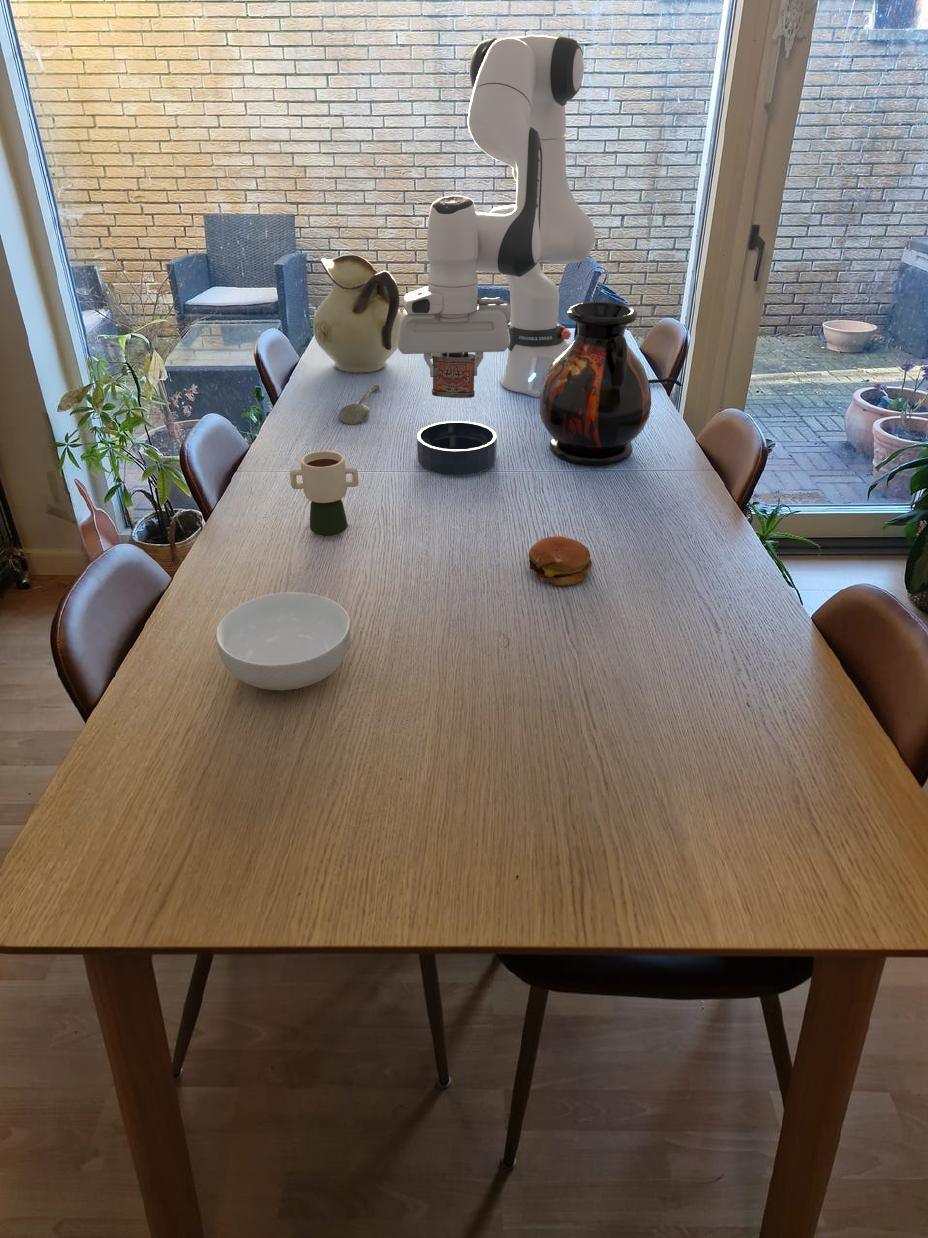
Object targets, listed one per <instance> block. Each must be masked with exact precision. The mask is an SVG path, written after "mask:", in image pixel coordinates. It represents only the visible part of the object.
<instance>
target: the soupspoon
mask: <svg viewBox="0 0 928 1238" xmlns="http://www.w3.org/2000/svg"><path fill="white" fill-rule="evenodd" d="M380 388H381V387H380V385H379V384H377V383H375V384H373V385H372V387H371V388H370V389H369V390H368V391H367V392H366V393H365V394H364V395H363V396H362V397H361V399H360V400H359V401H358V402H354V403H353V402H352V403H350V404H347V405H345V406H343V407H341V409H340V410H339V412H338V418H339V420H340V421H341V422H342V423H345V424H347V425H356V424H361V423H362V422H364V421H365V420H366V419H368V417H369V414H370V408H369V406H367V405H366V404H363V403H364V401H365V400H366V399H367V398H368V396H370V394H371V393H372V392H378V391H380Z"/></svg>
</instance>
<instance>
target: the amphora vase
mask: <svg viewBox="0 0 928 1238" xmlns="http://www.w3.org/2000/svg"><path fill="white" fill-rule="evenodd" d="M566 313H567V314H566V315H567V317H568V318H569V319H570V320H571V321H572V322H575V327H574V334H573V340H572V341H571V343H569V344H570V345H569V346H568V347H567V348H566V349H565V350H564V351H563V352H562V353H561V354H560V355H559V356H558V357H557V358H556V359H555V361H554V362H553V363H552V365H551V366H550V368H549V370H548V372H547V373H546V376H545V378H544V381H543V383H542V388H541V392H540V397H539V416H540V420H541V422H542V425H543V426H544V427H545V429H546V431H547V432H548V434H549V435H550V436H551V437H552V438H551V440H550V441H549V451H550V452H551V453H552V455H553V456H554V457H556V458H557V459H558V460H560V461H563V462H565V463H567V464H569V465H574V466H578V467H586V468H602V467H603V468H607V467H610V466H616V465H618V464H620V463H624V462H625V461H626V460H628V459H629V458H630V457H631V455H632V453H633V450H634V448H633V444H632V441H634V440H635V439H636V438H637V437H638V436H639V435H640V434H641V433H642V431H643V430H644V428H645V426H646V424H647V423H648V420H649V418H650V415H651V408H652V391H651V387H650V383H649V381H648V380H649V377H648V375H647V372H646V369H645V367H644V365H643V363H642V361H640V359H639V358H638V357H637V355H636V353H634V351H633V350H632V349H631V347H630V346H629V344H628V342H627V339H626V337H625V332H626V328H627V326H628V325H629V324H632V323H634V322H636V320H637V319H638V317H639V314H638V311H637V310H636V309H635V308H633V307H632V306H629V305H626V304H622V303H617V302H608V301H589V302H581V303H576V304H574V305H572V306H570V308H568V309H567V312H566Z"/></svg>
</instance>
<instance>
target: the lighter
mask: <svg viewBox="0 0 928 1238" xmlns="http://www.w3.org/2000/svg"><path fill="white" fill-rule="evenodd" d="M475 359H476V356H475V353H432V359H431V360H432V364H433V366H434V367H437V368H438V377H432V388H431V395H432V396H434V397H439V398H450V399H451V398H452V399H472V398H474V397H475V395H476V393H475V376H474V362H475Z"/></svg>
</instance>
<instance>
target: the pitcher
mask: <svg viewBox="0 0 928 1238" xmlns="http://www.w3.org/2000/svg"><path fill="white" fill-rule="evenodd" d="M320 263H321V265H322V268H323V270H324V271H325V273H326V275H327V276H328V277H329V279H330V281H331V282H332V288H331V290H330V292H329V294H327V296H326V297H325V299H323V301H322V302H321V303H320V305H319V306H318V307H317V310H316V312H315V314H314V317H313V321H312V331H313V336H314V338H315V341H316V343H317V344H318V346H319V348H320V349H321V351H323V352H324V353H325V354H326V355H327V356H328V357H329V358H330V359H331V360H332V361H333V362H334V364H335V367H336V368H337V369H338V370H339V371H342V372H346V373H358V374H359V373H371V372H376V371H379V370H381V369H383V368H385V366H386V363H387V360H389V359H390V358H391V357H392V356H393V355H394V354H395V352H396V351H397V350H398V326H399V319H400V315H401V313H402V311H400V309H399V308H400V291H399V288H398V285H397V282H396V280H395V279H394V277H393V276H392V274H391V273H390V272H389V271H388V270H383V271H380V272H378V271H377V270H376V269H375V268H374V266H373V264H372V263H371V262H369V261H368V260H367V259H366V258H364V257H361V256H360V255H357V254H353V253H352V254H343V255H340V256H337V257H335V258H331V259H327V258H321V261H320Z"/></svg>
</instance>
